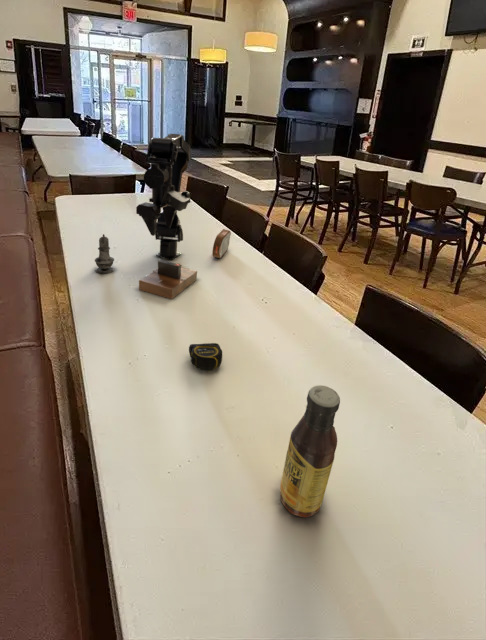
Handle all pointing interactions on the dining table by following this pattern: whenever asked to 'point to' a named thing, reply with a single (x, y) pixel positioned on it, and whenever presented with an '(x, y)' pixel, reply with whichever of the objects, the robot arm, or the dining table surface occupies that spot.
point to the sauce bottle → (310, 454)
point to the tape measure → (205, 355)
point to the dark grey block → (169, 269)
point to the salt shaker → (104, 257)
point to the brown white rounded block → (221, 243)
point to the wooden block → (167, 283)
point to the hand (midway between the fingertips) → (161, 231)
